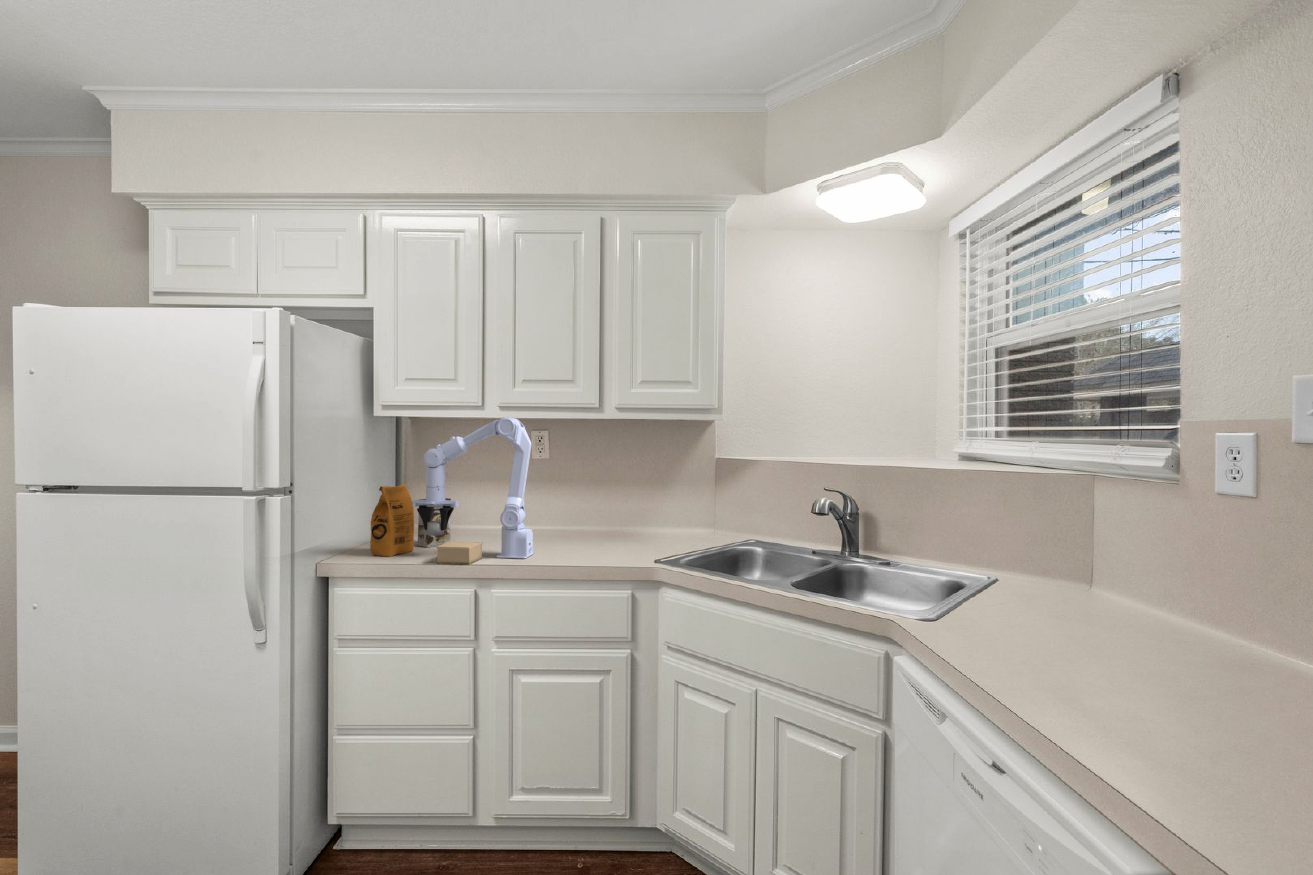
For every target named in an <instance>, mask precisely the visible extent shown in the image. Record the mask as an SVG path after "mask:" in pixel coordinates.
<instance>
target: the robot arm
mask: <svg viewBox="0 0 1313 875" xmlns="http://www.w3.org/2000/svg"><path fill="white" fill-rule="evenodd" d="M491 436H501V437H502V438H503V439H505V440H507V441H508V442H509V443H510V444H511V446H512V447H513V448H514V452H513V453H514V454H513V461H512V468H511V473H510V481H509V488H508V494H507V499H506V502H505V505H504V509H503V511H502V512H501V514H500V518H499V519H500V523H501V525H502V526H501V550H500V551H501V553H500V554H498V555H496V558H497V559H498V558H499V559H501V558H502V559H503V558H504V559H507V558H508V559H527V558H529V557H530V556H532V555H534V533H533V530H532V529H531V528H526V525H525V523H524V521H525V520H526V517H527V514H526V509H525V505H526V504H525V493H526V492H525V491H526V485H527V484H526V483H527V478H528V472H529V471H528V470H529V464H530V457H531V450H532V442H531V439H530V437H529V434H528V432H527V430H526V427H525V425H524V424H523V423H522V422H521V421H520V420H519V419H518V418H516V417H509V416H503V417H500V419H495V420H494V421H491V422H489V423H486V424H485V425H484V426H481V427H479V428H478V429H476V430H474V431H473V432H471V433H469V434H468V435H466V436H464V437H461V436H451V437H450V438H449V440H448V441H446V442H444V443H442V444H437V445H436V448H429V449H428V450H427V451H426V452H424V455H423V463H424V465H425V466H426V467H425V468H426V469H425V499H426V500H419V499H414V500H412V502H413V508H414V507H418V508H416V511H417V513H419V515H420V516H421V519H422V521H423V525H424V529H425V530H427V522H428V521H430V516H431V510H432V507H443V508H439V511H440V516H441V530H446V529H447V524H448V521H449V518H450V516H451V517H452V513H453V511H454V510H455V508H459V506H460V505H459V504H460V503H459V500H452V499H451V500H445V498H446V464H447V463H448V462H450V461H452V460H454V459H456V458H458V457H460V456H462V455H464V454H466V453H467V452H468V450H469V447H470V446H472V445H475V444H476V443H479V442H480V441H482V440H485V439H487V438H489V437H491ZM429 504H440V505H429Z"/></svg>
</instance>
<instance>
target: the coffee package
mask: <svg viewBox="0 0 1313 875" xmlns="http://www.w3.org/2000/svg"><path fill="white" fill-rule="evenodd" d="M378 490H379V492H380V493H381V495H380V496H379V500H378V503H377V504H376V505H375V507H374V510H373V512H372V514H371V520H370V545H369V546H370V548H369V551H370V553H371V555H372V556H378V557H384V558H387V557H388V558H389V557H390V556H391V557H394V556H396V555H404V554H407V553H410V552H412V551H414V546H415V543H414V542H415V541H414V540H415V509H414V507H413V500H412V497H411V495H410V493H409V489H408V488H407V484H405V483H403V484H400V485H398V486H387V485H386V486H385V485H384V486H383V485H381V486H379V488H378Z"/></svg>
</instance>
